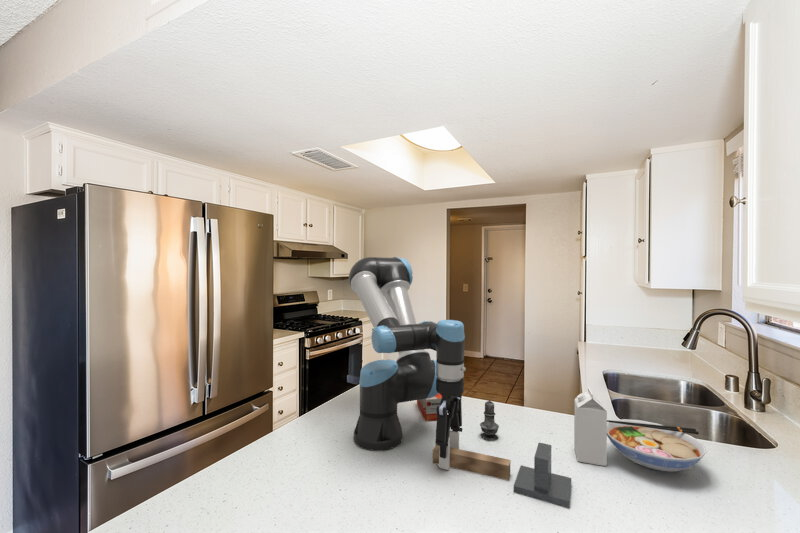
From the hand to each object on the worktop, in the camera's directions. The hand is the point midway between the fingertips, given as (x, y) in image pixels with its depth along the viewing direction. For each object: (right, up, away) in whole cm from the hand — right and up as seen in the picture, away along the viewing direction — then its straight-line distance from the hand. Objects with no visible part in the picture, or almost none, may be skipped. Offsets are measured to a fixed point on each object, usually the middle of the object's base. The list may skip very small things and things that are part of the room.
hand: (449, 461), depth 98 cm
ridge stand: (+21, 0, -11) cm, 24 cm away
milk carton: (+40, -1, +3) cm, 40 cm away
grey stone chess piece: (+15, -1, +15) cm, 21 cm away
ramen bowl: (+55, -1, 0) cm, 56 cm away
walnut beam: (+5, -1, -3) cm, 6 cm away
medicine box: (-2, -1, +34) cm, 34 cm away
